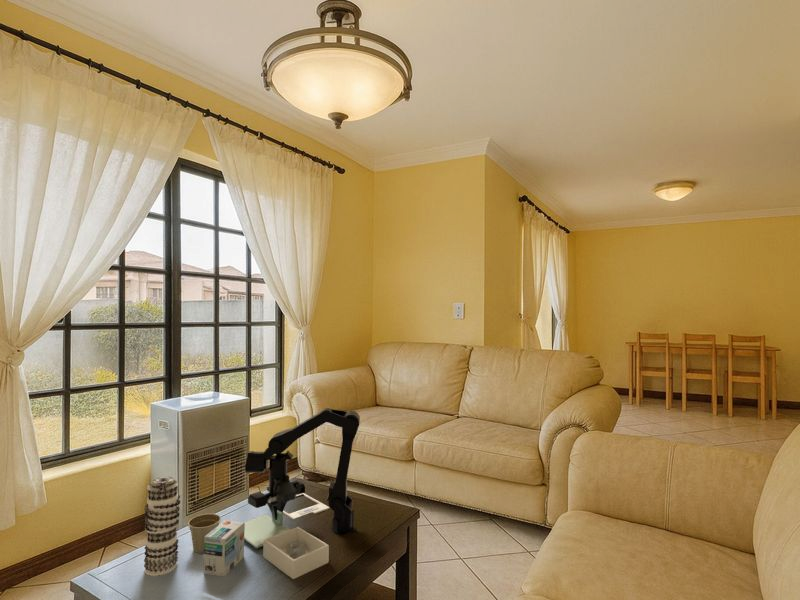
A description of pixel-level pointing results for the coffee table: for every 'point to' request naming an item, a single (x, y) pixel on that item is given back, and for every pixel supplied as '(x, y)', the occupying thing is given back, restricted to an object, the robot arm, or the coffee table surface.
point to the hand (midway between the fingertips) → (277, 519)
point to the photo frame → (314, 509)
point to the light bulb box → (224, 548)
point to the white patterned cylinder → (161, 526)
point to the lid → (263, 529)
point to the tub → (309, 561)
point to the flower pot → (202, 529)
